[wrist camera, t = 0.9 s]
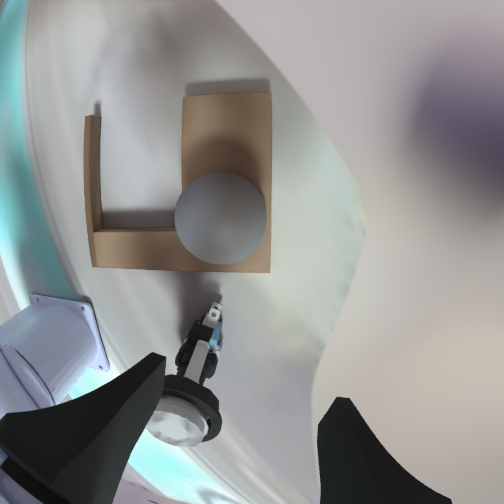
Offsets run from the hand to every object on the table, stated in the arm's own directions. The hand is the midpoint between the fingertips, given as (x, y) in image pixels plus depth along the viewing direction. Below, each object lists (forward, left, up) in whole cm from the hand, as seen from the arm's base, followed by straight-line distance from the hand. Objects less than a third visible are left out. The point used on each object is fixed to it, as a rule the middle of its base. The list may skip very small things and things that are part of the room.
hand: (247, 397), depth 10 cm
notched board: (-6, +8, -11) cm, 15 cm away
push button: (-4, -4, -11) cm, 13 cm away
